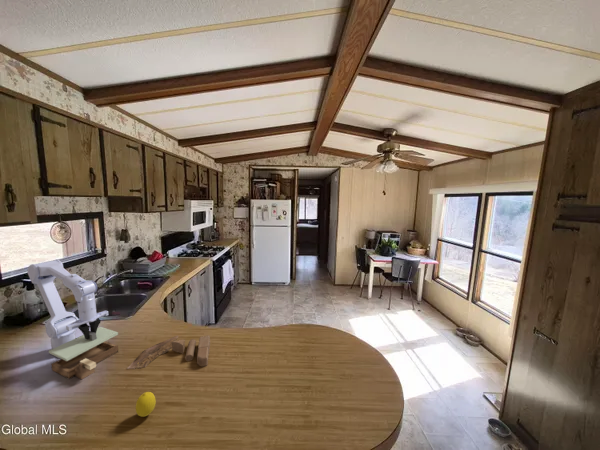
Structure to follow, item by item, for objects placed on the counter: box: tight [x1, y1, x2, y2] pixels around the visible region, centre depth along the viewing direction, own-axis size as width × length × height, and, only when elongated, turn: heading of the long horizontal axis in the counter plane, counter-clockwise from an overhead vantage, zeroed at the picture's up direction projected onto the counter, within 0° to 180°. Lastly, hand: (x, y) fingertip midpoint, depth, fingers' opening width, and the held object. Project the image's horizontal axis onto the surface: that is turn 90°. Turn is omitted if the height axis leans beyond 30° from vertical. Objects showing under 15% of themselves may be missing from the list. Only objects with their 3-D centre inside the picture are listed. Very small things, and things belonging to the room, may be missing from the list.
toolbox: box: [50, 340, 119, 380], centre depth 101 cm, size 18×18×6 cm
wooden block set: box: [171, 335, 211, 368], centre depth 105 cm, size 17×6×18 cm
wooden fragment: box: [126, 335, 179, 370], centre depth 109 cm, size 26×11×1 cm, turn 158°
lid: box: [48, 326, 119, 361], centre depth 102 cm, size 14×19×4 cm
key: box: [80, 358, 97, 370], centre depth 93 cm, size 7×2×2 cm, turn 68°
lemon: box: [135, 391, 157, 418], centre depth 76 cm, size 6×6×8 cm
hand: (90, 337), depth 103 cm, fingers closed on lid, 2 cm apart
